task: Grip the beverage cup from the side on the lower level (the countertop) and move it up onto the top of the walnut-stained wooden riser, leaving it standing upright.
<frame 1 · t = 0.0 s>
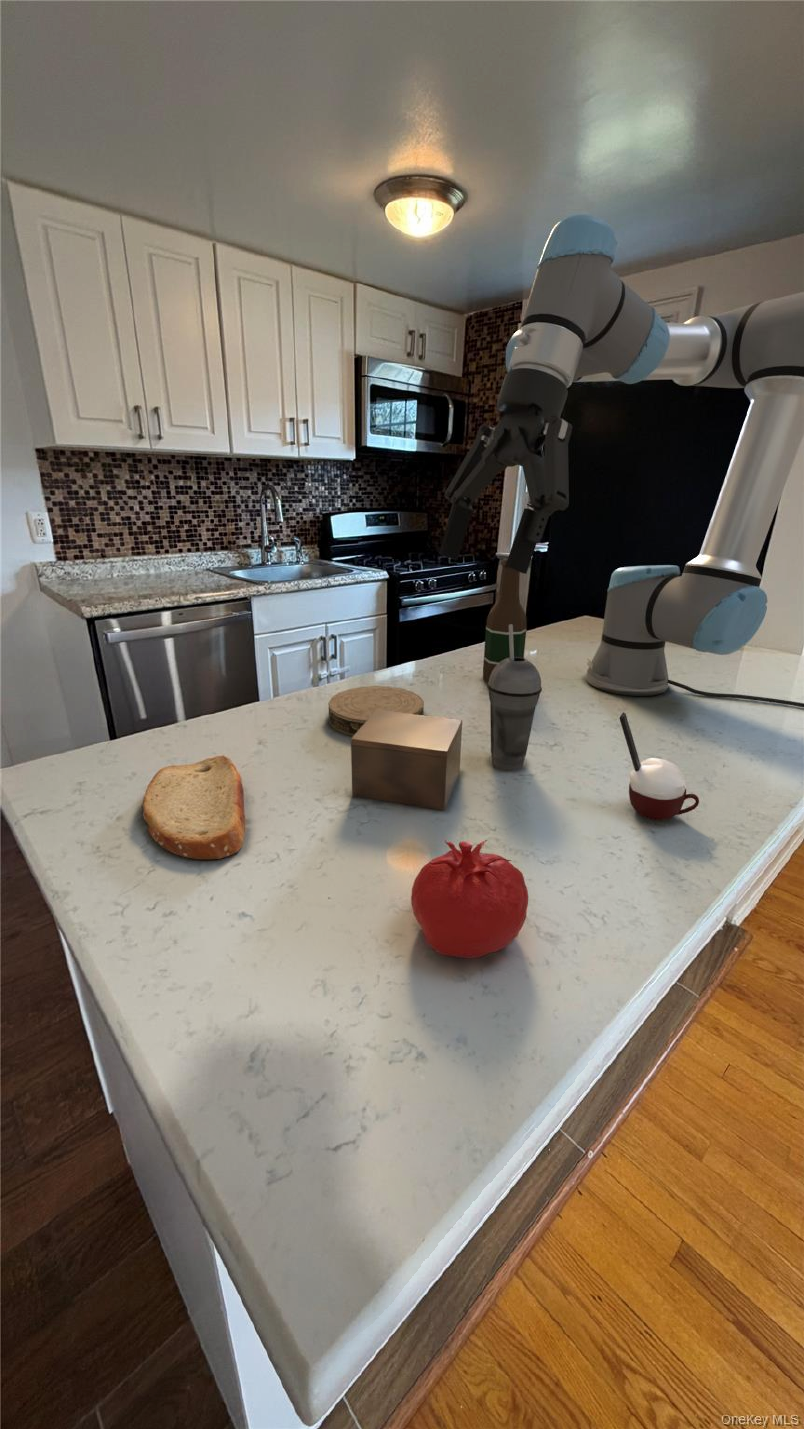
hand: (479, 563, 70), 28 cm above the worktop, tool tilted 20°, fingers open, 13 cm apart
riser: (407, 784, 75), on the worktop
pomegranate: (466, 932, 51), on the worktop
beverage cup: (507, 764, 81), on the worktop
tan flat ringed disc: (376, 719, 96), on the worktop
bread slice: (205, 809, 69), on the worktop
beer bottle: (501, 682, 114), on the worktop
cocoa: (648, 813, 69), on the worktop
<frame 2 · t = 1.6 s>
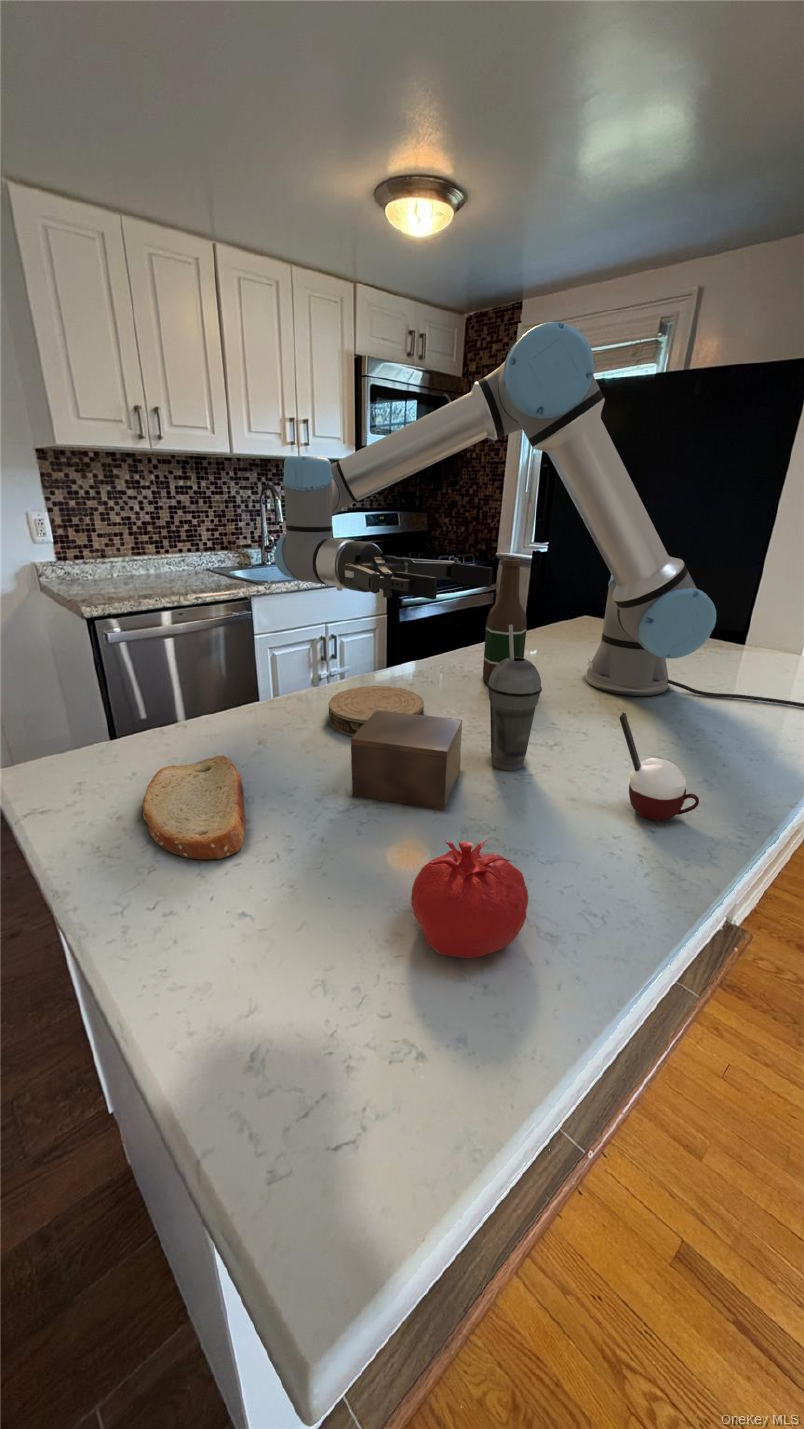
hand: (465, 582, 77), 24 cm above the worktop, tool horizontal, fingers open, 13 cm apart
nothing on the worktop moved.
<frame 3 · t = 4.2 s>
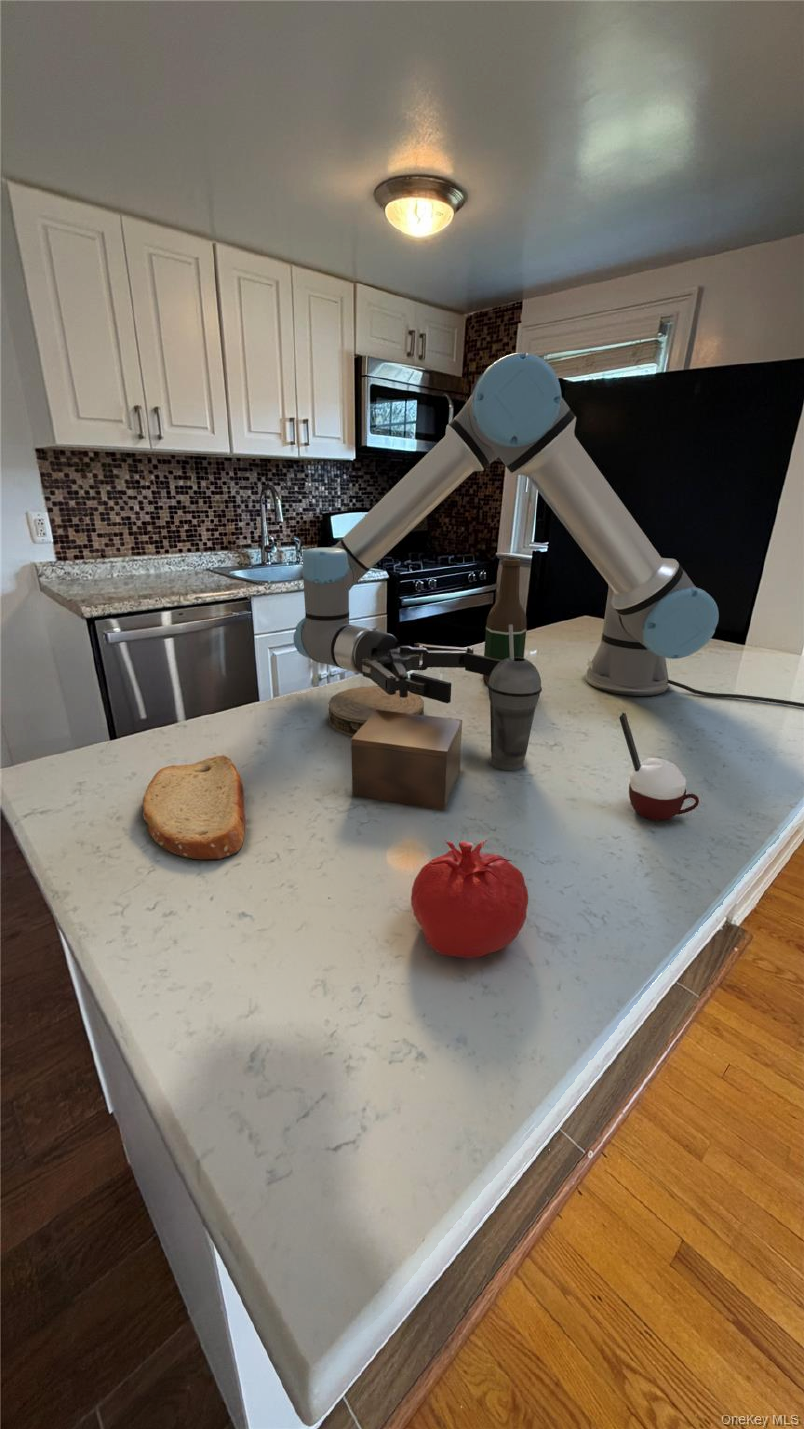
hand: (477, 681, 80), 11 cm above the worktop, tool horizontal, fingers open, 13 cm apart
nothing on the worktop moved.
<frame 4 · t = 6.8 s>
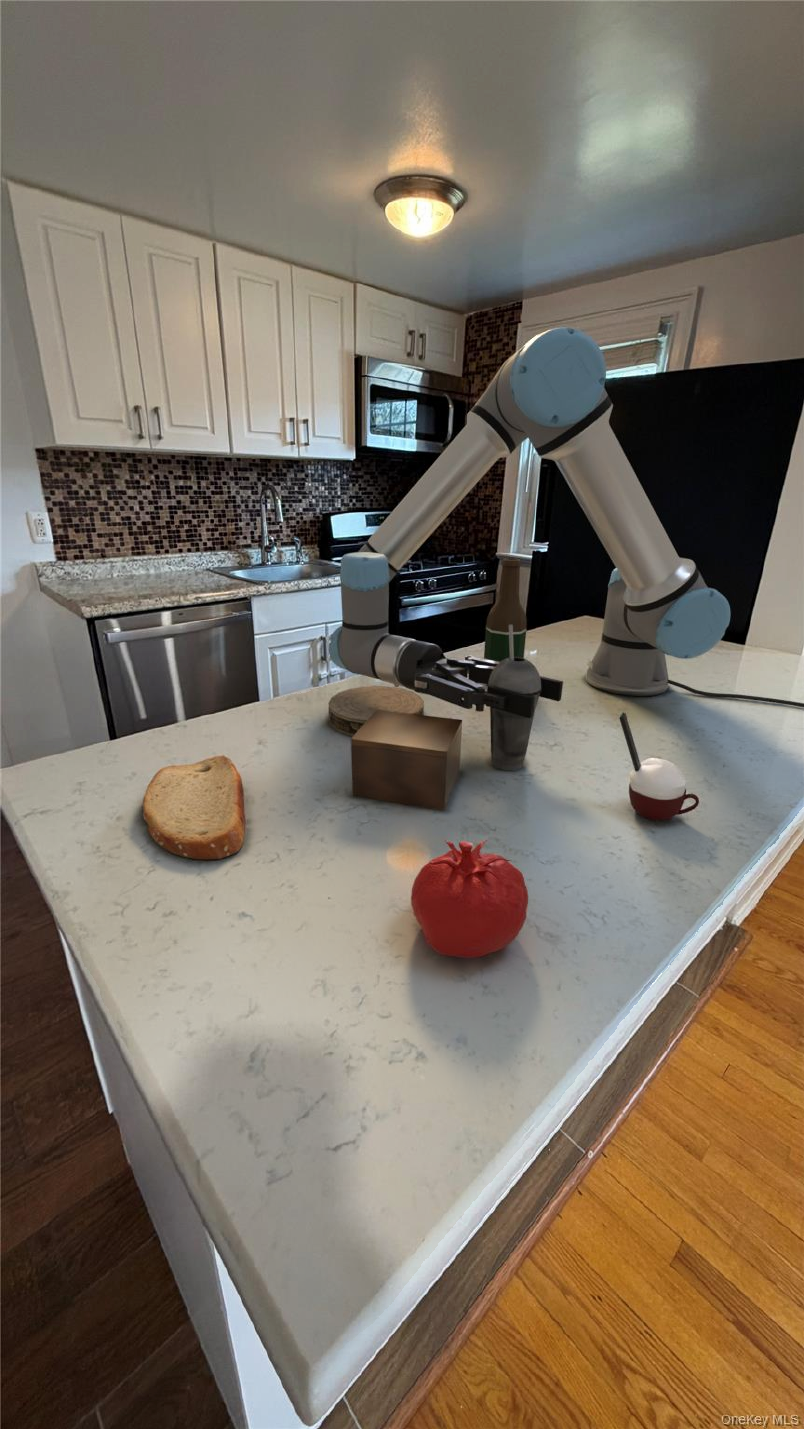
hand: (547, 699, 74), 11 cm above the worktop, tool horizontal, fingers closed on beverage cup, 7 cm apart
beverage cup: (507, 764, 81), on the worktop, touching gripper
everything else where it was.
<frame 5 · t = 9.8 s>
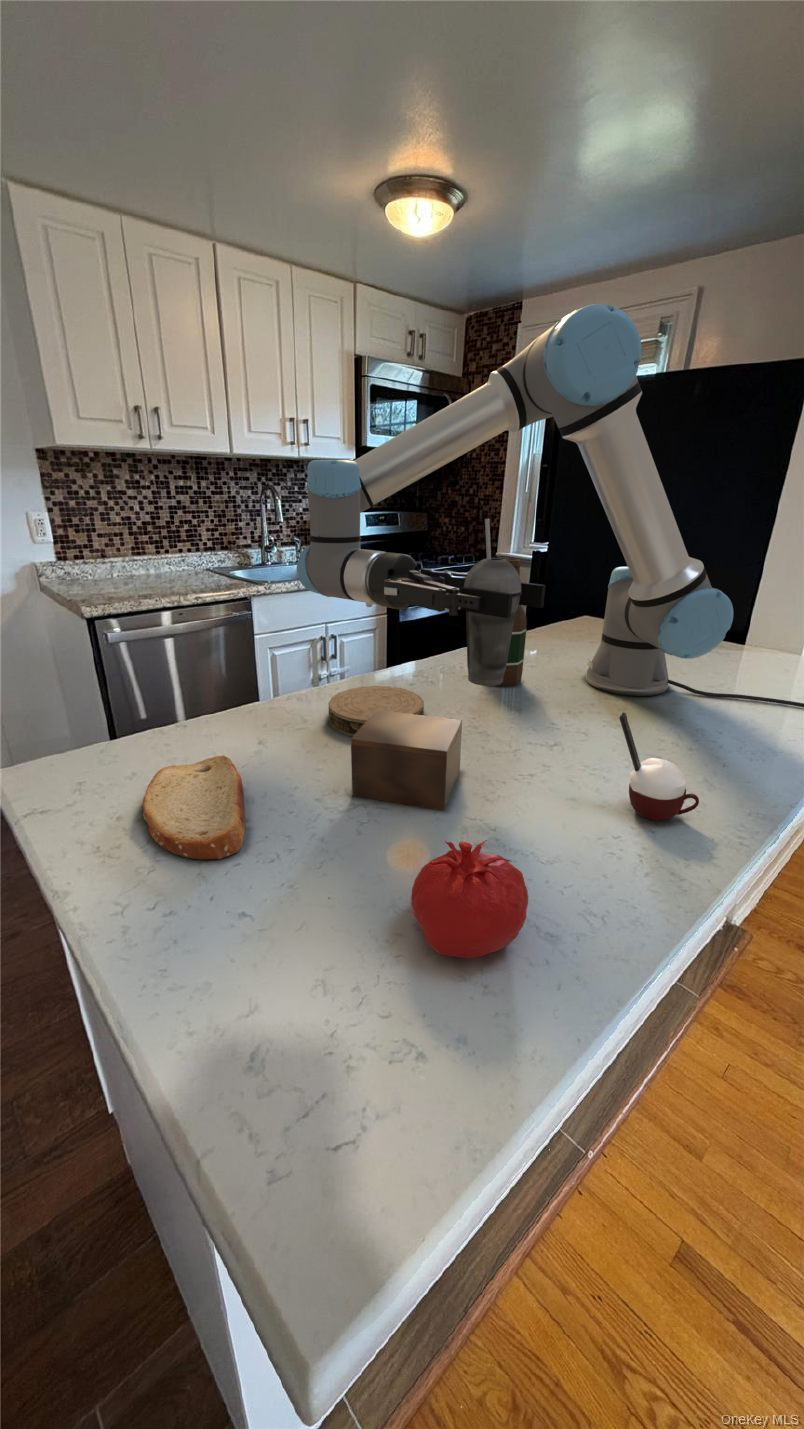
hand: (527, 601, 67), 24 cm above the worktop, tool horizontal, fingers closed on beverage cup, 7 cm apart
beverage cup: (485, 681, 74), point 13 cm above the worktop, touching gripper
everything else where it was.
when the fingers open (19 cm above the worktop, at t = 13.0 s): beverage cup stays where it is, resting on riser.
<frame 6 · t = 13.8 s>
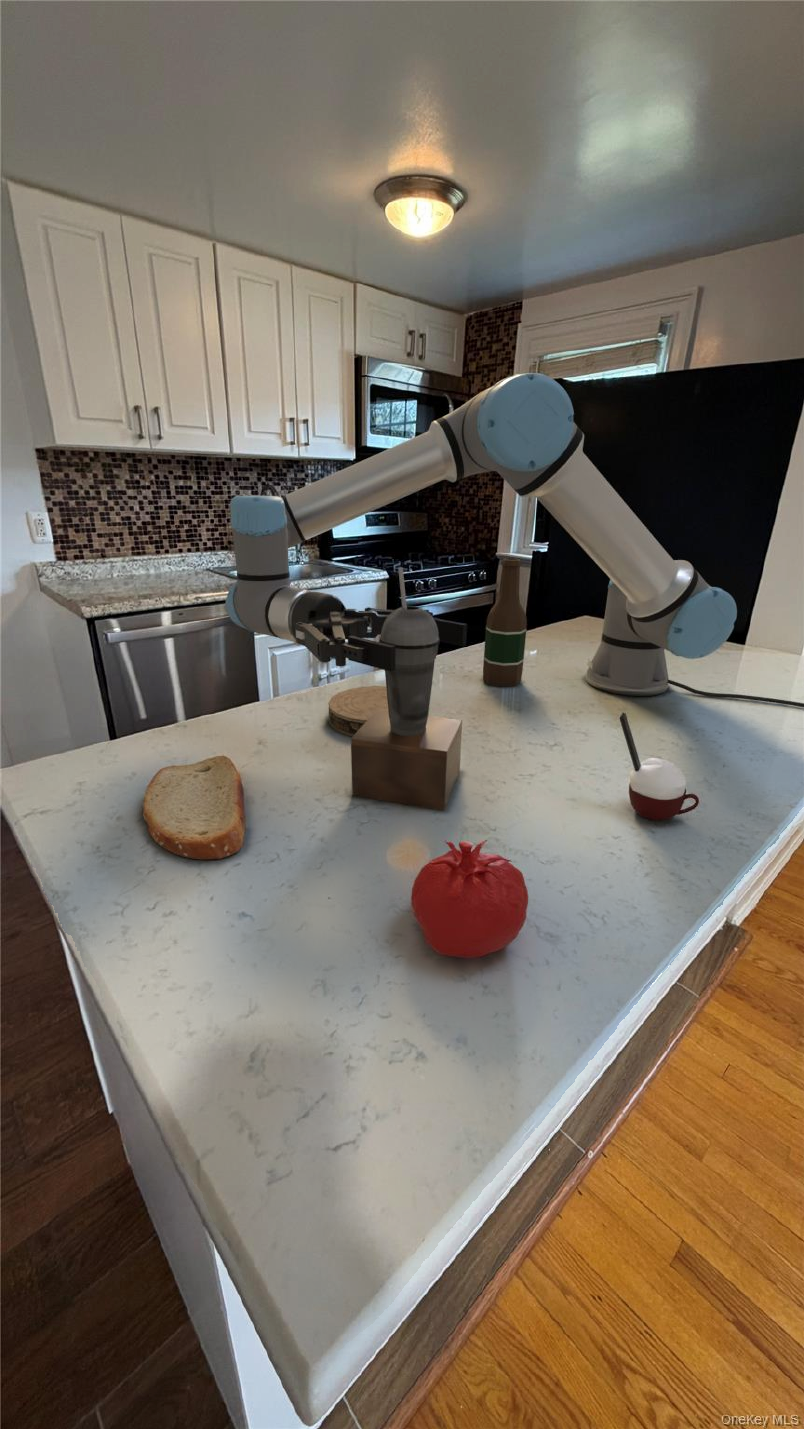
hand: (431, 646, 66), 19 cm above the worktop, tool horizontal, fingers open, 13 cm apart
beverage cup: (408, 730, 72), point 8 cm above the worktop, touching riser
everything else where it was.
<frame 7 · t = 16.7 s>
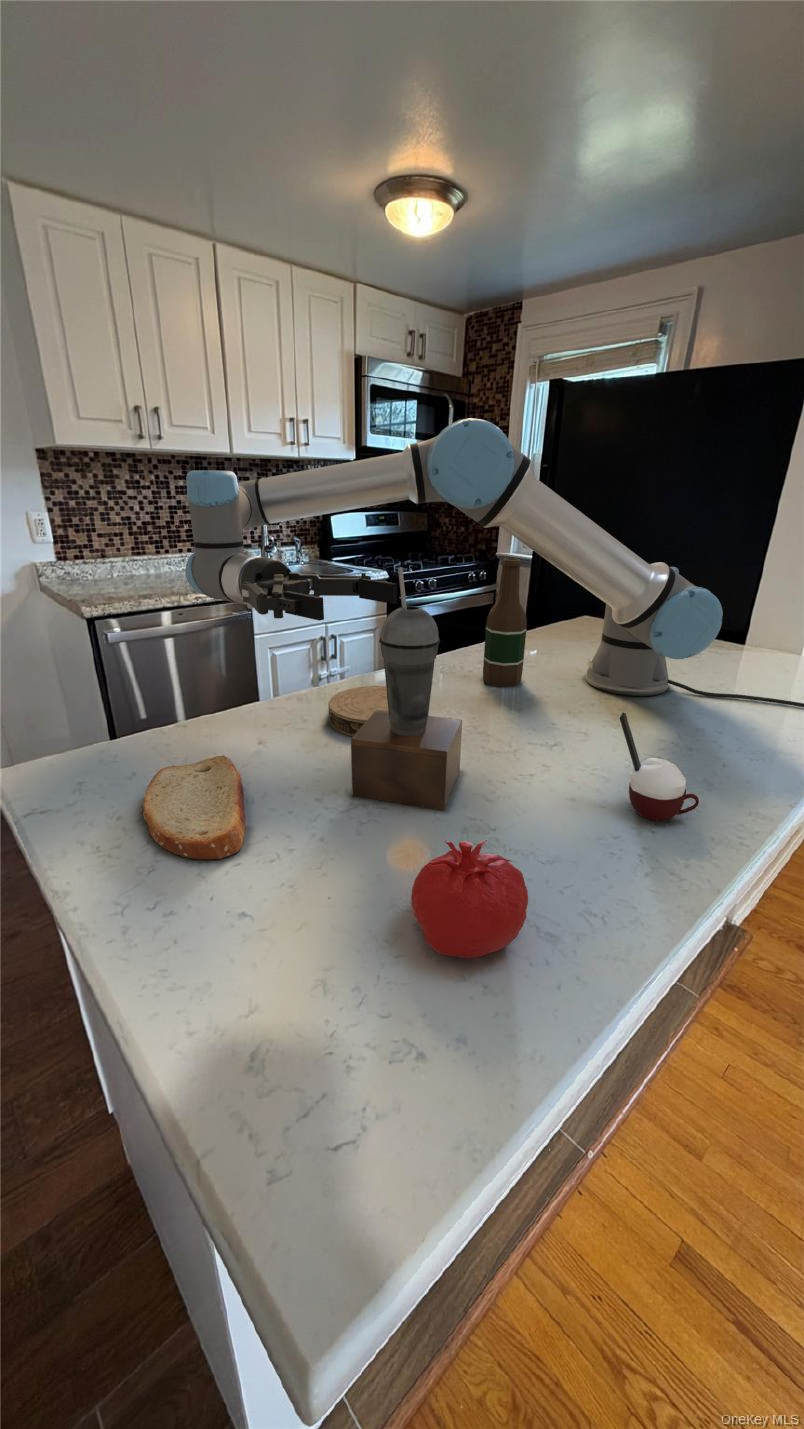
hand: (360, 600, 73), 23 cm above the worktop, tool horizontal, fingers open, 13 cm apart
nothing on the worktop moved.
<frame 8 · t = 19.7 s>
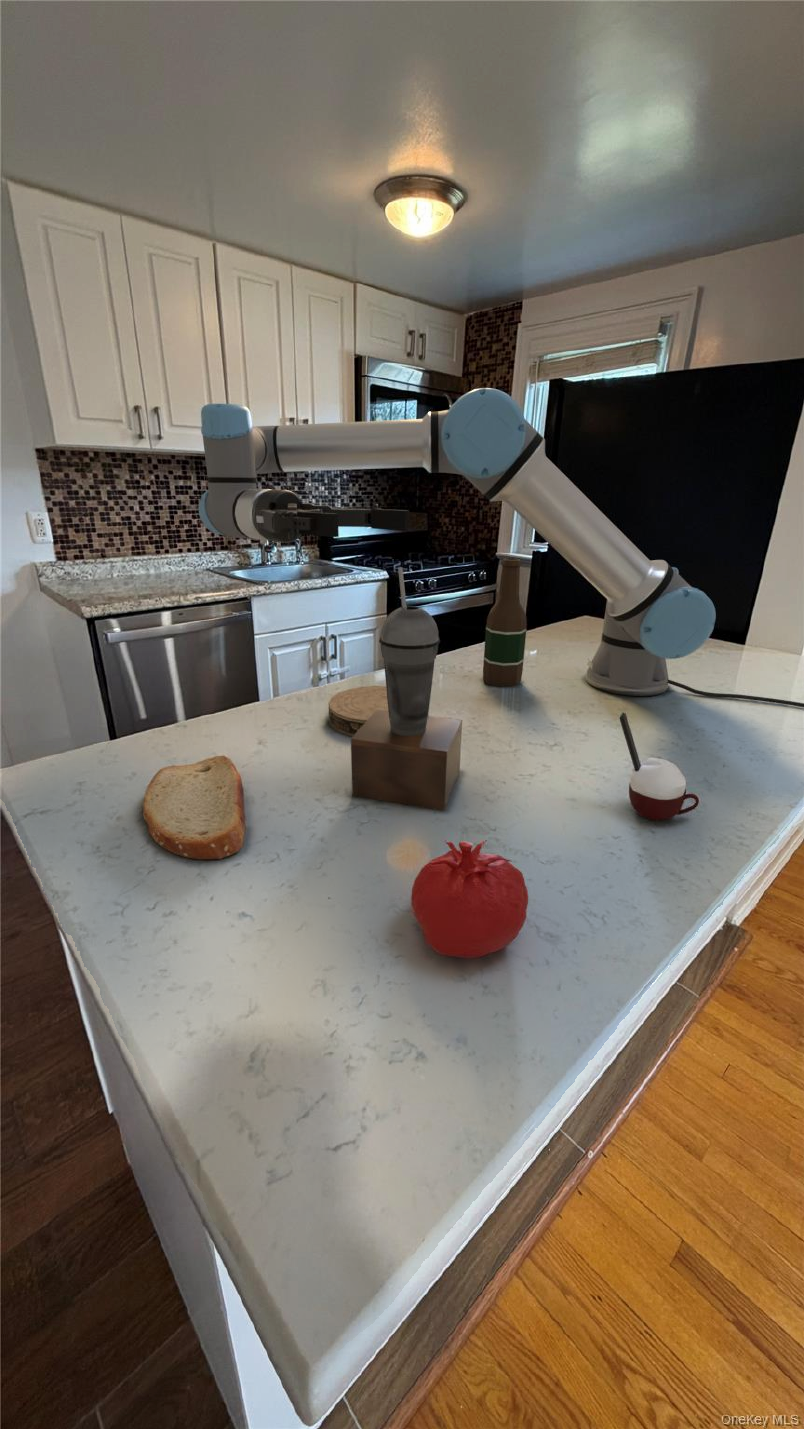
hand: (374, 522, 74), 32 cm above the worktop, tool horizontal, fingers open, 13 cm apart
nothing on the worktop moved.
at the end: beverage cup inside the target area on the riser (0.1 cm from its centre), point 7.8 cm above the riser's base; beverage cup tilted 0°; the gripper is holding nothing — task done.
